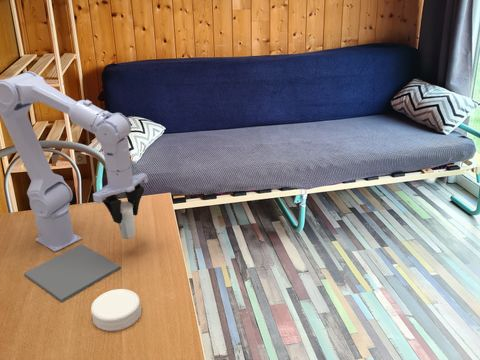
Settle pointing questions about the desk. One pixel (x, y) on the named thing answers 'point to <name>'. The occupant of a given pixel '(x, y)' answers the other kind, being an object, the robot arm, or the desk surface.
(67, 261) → the mat
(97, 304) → the white round tin
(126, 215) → the milkshake
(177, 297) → the desk surface
